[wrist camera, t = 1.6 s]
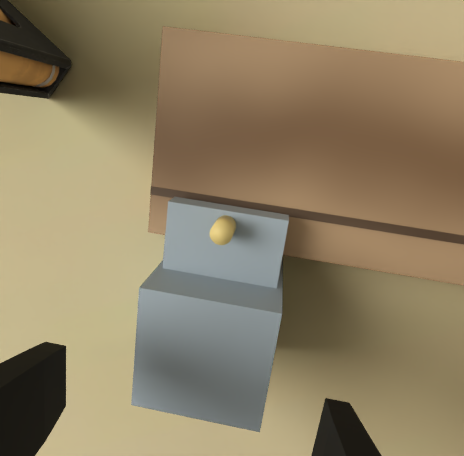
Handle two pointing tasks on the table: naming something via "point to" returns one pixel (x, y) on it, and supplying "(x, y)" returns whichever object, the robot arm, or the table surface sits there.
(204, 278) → the grey stepped block
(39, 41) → the ammunition clip
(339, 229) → the board
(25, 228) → the table surface
